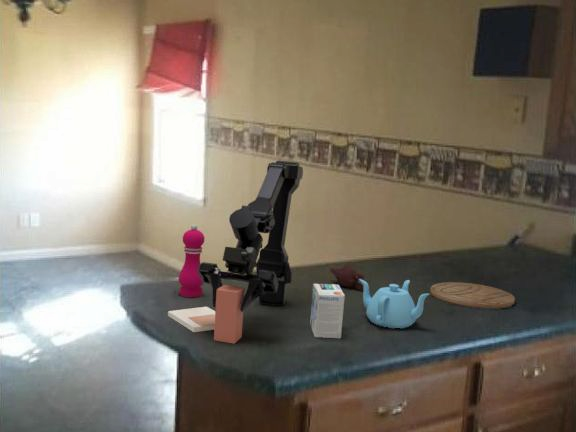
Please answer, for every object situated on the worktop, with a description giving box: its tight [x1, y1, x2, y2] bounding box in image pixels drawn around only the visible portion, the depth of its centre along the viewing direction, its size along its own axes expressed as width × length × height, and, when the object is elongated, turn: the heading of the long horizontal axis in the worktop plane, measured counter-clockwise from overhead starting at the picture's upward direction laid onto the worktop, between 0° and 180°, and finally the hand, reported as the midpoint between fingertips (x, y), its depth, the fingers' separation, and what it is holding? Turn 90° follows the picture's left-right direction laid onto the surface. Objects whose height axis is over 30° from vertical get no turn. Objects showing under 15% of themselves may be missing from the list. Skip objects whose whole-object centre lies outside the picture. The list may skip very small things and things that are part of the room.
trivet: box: [429, 281, 516, 308], centre depth 222 cm, size 25×25×2 cm
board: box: [167, 306, 215, 333], centre depth 180 cm, size 14×11×1 cm
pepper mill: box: [178, 223, 205, 298], centre depth 202 cm, size 7×7×20 cm
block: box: [213, 284, 246, 344], centre depth 168 cm, size 5×5×12 cm
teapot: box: [359, 279, 430, 329], centre depth 190 cm, size 15×15×10 cm
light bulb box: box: [309, 283, 346, 339], centre depth 179 cm, size 11×7×11 cm, turn 5°
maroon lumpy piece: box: [329, 264, 365, 292], centre depth 224 cm, size 7×7×15 cm
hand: (227, 308), depth 167 cm, fingers open, 6 cm apart
